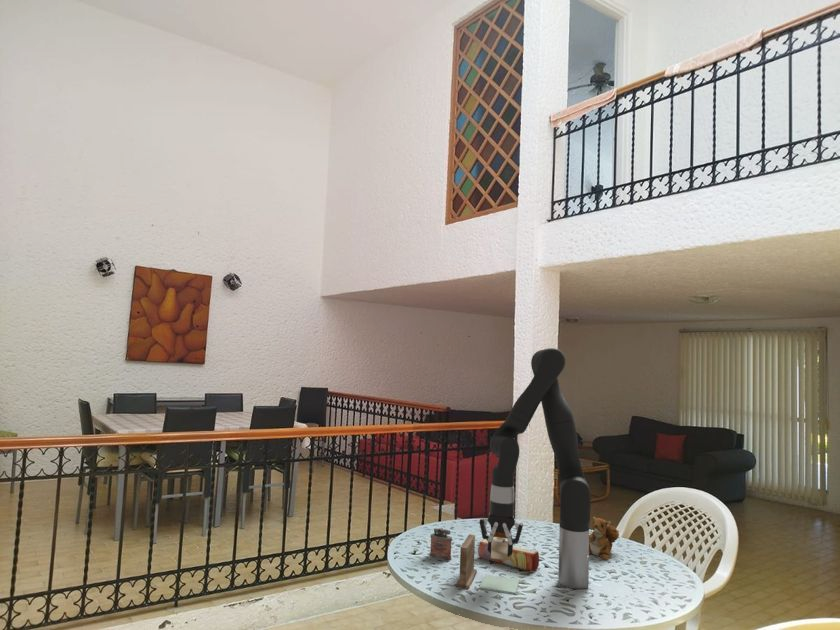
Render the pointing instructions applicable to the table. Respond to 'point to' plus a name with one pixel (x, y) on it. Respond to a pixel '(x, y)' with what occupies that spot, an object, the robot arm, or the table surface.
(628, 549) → the table surface
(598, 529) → the stuffed squirrel
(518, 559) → the snack package
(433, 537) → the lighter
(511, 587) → the sage pad
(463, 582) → the walnut screen
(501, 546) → the letter cube
